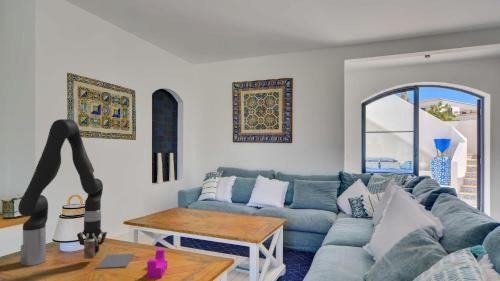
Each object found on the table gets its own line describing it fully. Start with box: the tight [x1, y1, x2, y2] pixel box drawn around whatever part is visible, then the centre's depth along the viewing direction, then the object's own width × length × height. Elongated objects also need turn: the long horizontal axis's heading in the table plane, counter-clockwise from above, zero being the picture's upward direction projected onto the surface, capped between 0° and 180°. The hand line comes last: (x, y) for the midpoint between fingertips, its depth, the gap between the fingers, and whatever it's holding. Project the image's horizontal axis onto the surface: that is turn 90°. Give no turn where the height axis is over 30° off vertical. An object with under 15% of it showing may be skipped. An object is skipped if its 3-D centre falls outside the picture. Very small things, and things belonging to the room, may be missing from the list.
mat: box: [94, 253, 135, 270], centre depth 149 cm, size 14×16×1 cm
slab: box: [83, 238, 100, 260], centre depth 147 cm, size 4×8×9 cm, turn 8°
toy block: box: [146, 248, 168, 279], centre depth 139 cm, size 15×6×8 cm, turn 1°
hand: (91, 252), depth 147 cm, fingers closed on slab, 4 cm apart
